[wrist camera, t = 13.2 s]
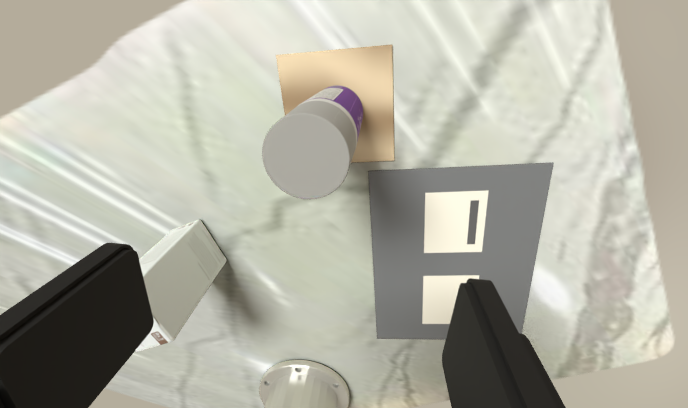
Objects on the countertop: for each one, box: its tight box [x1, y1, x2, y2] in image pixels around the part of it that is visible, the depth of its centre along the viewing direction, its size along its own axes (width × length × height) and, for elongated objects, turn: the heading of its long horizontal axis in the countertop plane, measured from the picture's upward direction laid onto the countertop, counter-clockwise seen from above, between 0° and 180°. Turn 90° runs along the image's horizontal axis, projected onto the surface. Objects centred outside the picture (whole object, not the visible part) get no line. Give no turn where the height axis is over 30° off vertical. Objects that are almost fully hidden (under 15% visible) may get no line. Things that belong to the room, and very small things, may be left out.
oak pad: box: [276, 45, 394, 163], centre depth 30 cm, size 10×10×1 cm
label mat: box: [369, 163, 553, 339], centre depth 35 cm, size 22×17×1 cm
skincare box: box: [135, 219, 227, 352], centre depth 32 cm, size 6×4×12 cm
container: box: [262, 85, 363, 199], centre depth 23 cm, size 5×5×15 cm
